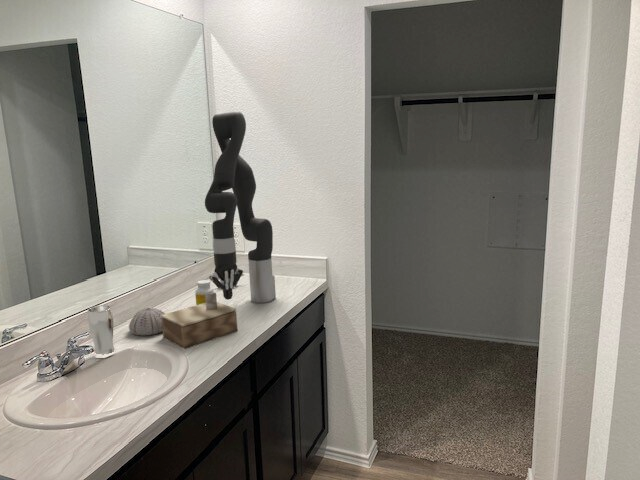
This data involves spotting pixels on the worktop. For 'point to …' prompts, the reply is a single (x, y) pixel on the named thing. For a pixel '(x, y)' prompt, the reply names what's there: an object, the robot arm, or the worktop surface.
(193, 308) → the lid
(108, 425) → the worktop surface
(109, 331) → the beer glass
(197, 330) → the walnut box
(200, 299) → the supplement bottle
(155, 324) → the sea urchin shell
